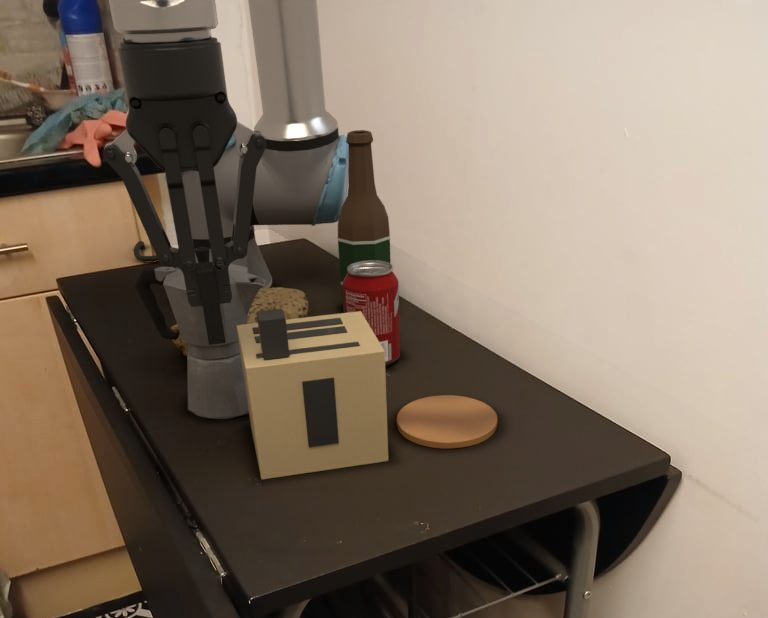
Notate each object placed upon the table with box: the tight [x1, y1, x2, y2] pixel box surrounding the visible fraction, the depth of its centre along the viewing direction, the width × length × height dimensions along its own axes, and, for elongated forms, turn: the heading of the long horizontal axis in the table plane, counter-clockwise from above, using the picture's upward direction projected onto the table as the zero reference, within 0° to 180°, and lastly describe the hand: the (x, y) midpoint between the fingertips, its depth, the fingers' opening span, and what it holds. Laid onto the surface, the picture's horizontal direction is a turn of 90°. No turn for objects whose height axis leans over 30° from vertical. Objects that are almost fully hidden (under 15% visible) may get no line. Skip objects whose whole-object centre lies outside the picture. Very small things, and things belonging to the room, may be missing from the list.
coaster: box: [396, 394, 498, 450], centre depth 87 cm, size 11×11×1 cm
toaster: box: [237, 311, 389, 481], centre depth 81 cm, size 11×13×12 cm
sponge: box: [170, 286, 310, 358], centre depth 105 cm, size 13×8×20 cm
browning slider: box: [257, 309, 290, 360], centre depth 73 cm, size 2×2×4 cm
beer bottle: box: [337, 129, 392, 313], centre depth 110 cm, size 8×8×24 cm
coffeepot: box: [134, 247, 265, 420], centre depth 88 cm, size 15×9×18 cm, turn 74°
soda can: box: [343, 260, 401, 367], centre depth 98 cm, size 7×7×12 cm
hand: (216, 338), depth 72 cm, fingers closed
